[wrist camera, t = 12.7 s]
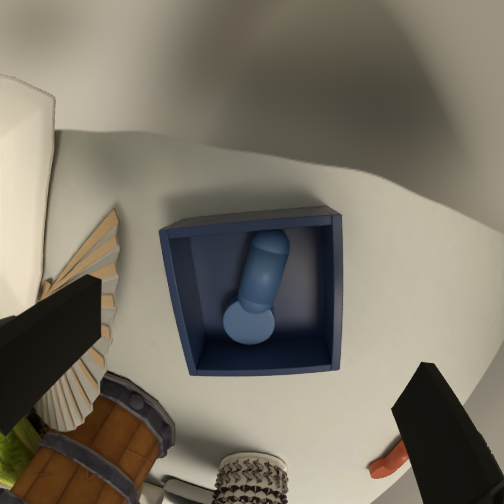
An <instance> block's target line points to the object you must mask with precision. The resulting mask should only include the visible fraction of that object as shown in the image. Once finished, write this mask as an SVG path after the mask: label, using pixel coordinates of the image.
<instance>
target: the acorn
mask: <svg viewBox="0 0 504 504" xmlns="http://www.w3.org/2000/svg"><path fill="white" fill-rule="evenodd" d="M25 417H26V418H27V420H28V421H29V422H30V424H31V425H32V426H33V427H34V429H35V430H36V432H37V433H38V435H39V436H40V438H41V439H42V438H43V437H44V436H45V435H46V433H47V432H50V431H51V429H52V428H51V426H50V428H49V425H48V424H46V423H44V421H43V418H42V420H41V417H40V416H39V415H38V414H37V410H36V413H35V408H34V407H32V408H31V409H30V410H29V411H28V412H27V414H26V415H25ZM42 421H43V422H42Z"/></svg>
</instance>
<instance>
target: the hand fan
mask: <svg viewBox="0 0 504 504" xmlns="http://www.w3.org/2000/svg"><path fill="white" fill-rule="evenodd" d="M118 222H119V219H118V216H117V213H116V211H115V208H114V209H113V210H112V211H111V212H110V214H109V215H108V216H107V217H106V218H105V219H104V220H103V222H102V223H101V224H100V225H99V226H98V227H97V229H96V230H95V231H94V232H93V233H92V235H91V236H90V237H89V238H88V240H87V241H86V242H85V243H84V244H83V246H82V247H81V248H80V249H79V251H78V252H77V253H76V255H75V256H74V257H73V258H72V260H71V261H70V262H69V264H68V265H67V266H66V268H65V269H64V270H63V272H62V273H61V275H60V276H59V277H58V279H57V280H56V281H55V283H54V284H53V286H52V287H51V289H50V290H49V288H50V286H51V284H50V283H49V282H47V281H45V282H44V283H43V284H42V288H41V290H40V291H41V292H40V294H41V295H40V296H41V297H40V298H41V299H39V300H40V301H42V300H43V299H45V298H47V297H48V296H50V295H51V294H53V293H55V292H56V291H58V290H60V289H62V288H63V287H62V288H60V289H58V288H59V287H60V286H62V285H63V284H65V286H67V285H68V284H70V283H72V282H74V281H75V280H77V279H79V278H80V277H82V276H84V275H86V274H89V275H92V276H94V277H97V278H99V279H102V293H101V338H100V339H99V340H98V341H97V342H96V343H95V344H94V345H93V346H92V347H91V348H90V349H89V350H88V351H87V352H86V353H85V354H84V355H83V356H82V357H81V358H80V359H79V360H78V361H77V362H76V363H75V364H74V365H73V366H72V367H71V368H70V369H69V370H68V371H67V372H66V373H65V374H64V375H63V376H62V377H61V378H60V379H59V380H58V381H57V382H56V383H55V384H54V385H53V386H52V387H51V388H50V389H49V390H48V391H47V392H46V393H45V394H44V395H43V396H42V398H41V399H40V400H39V401H38V402H37V403H36V404H35V405H34V406H33V407H34V408H35V413H36V410H37V414H38V415H39V416H40V417H41V420H42V418H43V421H44V423H46V424H48V425H49V428H50V426H51V428H52V429H56V430H57V432H58V431H65V432H67V431H71V430H75V429H76V427H77V426H79V425H81V424H83V423H84V419H85V417H86V416H87V415H88V414H90V413H91V412H92V411H93V405H92V403H93V402H94V400H95V399H96V398H97V397H98V395H99V394H100V381H101V379H102V377H103V376H104V374H105V372H106V371H107V363H106V354H107V352H108V350H109V348H110V346H111V343H112V341H113V338H112V330H111V324H112V321H113V319H114V316H115V313H116V311H117V308H116V300H115V290H116V287H117V284H118V281H119V273H118V268H117V258H118V255H119V252H120V245H119V242H118V238H117V235H116V234H117V229H118V224H119V223H118ZM65 286H64V287H65ZM56 289H58V290H56ZM55 290H56V291H55ZM54 291H55V292H54ZM40 301H39V302H40ZM43 421H42V422H43Z"/></svg>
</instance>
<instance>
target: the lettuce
mask: <svg viewBox="0 0 504 504" xmlns="http://www.w3.org/2000/svg"><path fill="white" fill-rule="evenodd" d="M41 440H42V439H41V438H40V436H39V435H38V433H37V432H36V430H35V429H34V427H33V426H32V425H31V424H30V422H29V421H28V420H27V418H26V417H25V416H24V417H23V418H22V419H21V420H20V421H19V422H18V423H17V425H16V426H15V427H14V428H13V429H12V430H11V431H10V432H9V433H8V435H7V436H6V437H5V436H4V435H3V434H2V433H0V484H2V485H4V486H7V487H9V488H12V487H13V485H14V484H15V482H16V481H17V480H18V478H19V477H20V475H21V474H22V473H23V471H24V470H25V468H26V467H27V466H28V464H29V463H30V462H31V460H32V459H33V458H34V456H35V455H36V453H37V447H38V444H39V442H40V441H41Z"/></svg>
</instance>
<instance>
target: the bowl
mask: <svg viewBox="0 0 504 504" xmlns="http://www.w3.org/2000/svg"><path fill="white" fill-rule="evenodd" d="M55 101H56V100H55V97H54V96H53V95H51V94H49V93H47V92H45V91H43V90H41V89H39V88H36V87H34V86H32V85H30V84H28V83H26V82H23V81H21V80H19V79H17V78H14V77H10V76H5V75H0V319H2V318H6V317H9V316H13V315H15V316H18V315H19V314H21V313H22V312H24V311H25V310H27V309H29V308H30V307H32V306H33V305H35V304H36V302H37V297H38V292H39V287H40V282H41V278H42V274H43V242H44V228H45V217H46V206H47V196H48V187H49V180H50V173H51V167H52V161H53V155H54V123H55Z"/></svg>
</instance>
